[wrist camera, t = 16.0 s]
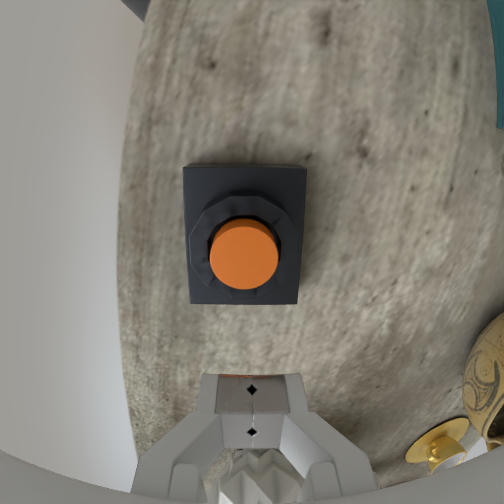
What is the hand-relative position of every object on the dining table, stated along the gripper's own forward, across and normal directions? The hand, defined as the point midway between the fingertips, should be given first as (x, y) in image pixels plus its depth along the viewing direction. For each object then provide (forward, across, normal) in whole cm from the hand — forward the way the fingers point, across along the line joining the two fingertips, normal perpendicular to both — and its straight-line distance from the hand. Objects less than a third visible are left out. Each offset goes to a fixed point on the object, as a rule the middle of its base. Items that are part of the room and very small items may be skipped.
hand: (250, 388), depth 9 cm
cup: (+16, -31, +34) cm, 48 cm away
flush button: (+12, 0, 0) cm, 12 cm away
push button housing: (+15, 0, 0) cm, 15 cm away
